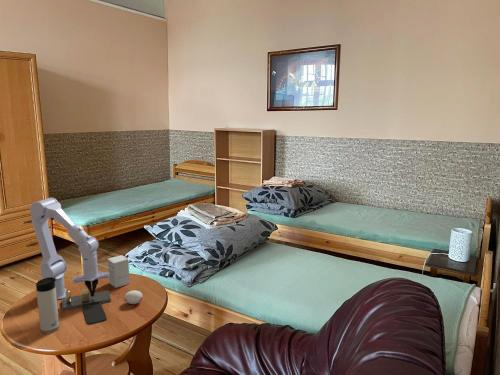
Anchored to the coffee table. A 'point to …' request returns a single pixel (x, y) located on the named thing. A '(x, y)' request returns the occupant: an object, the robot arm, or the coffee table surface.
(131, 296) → the stress ball
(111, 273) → the supplement box
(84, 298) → the wooden block
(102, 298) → the plate
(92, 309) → the phone
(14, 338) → the coffee table surface
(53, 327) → the travel mug
